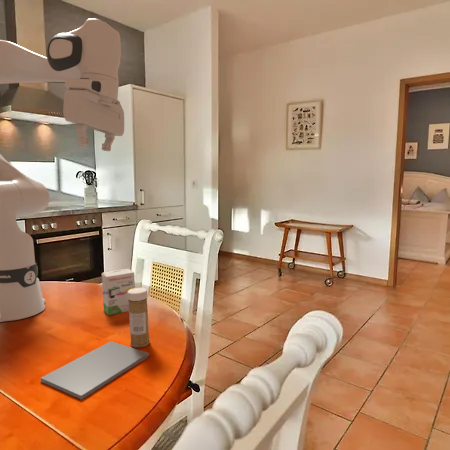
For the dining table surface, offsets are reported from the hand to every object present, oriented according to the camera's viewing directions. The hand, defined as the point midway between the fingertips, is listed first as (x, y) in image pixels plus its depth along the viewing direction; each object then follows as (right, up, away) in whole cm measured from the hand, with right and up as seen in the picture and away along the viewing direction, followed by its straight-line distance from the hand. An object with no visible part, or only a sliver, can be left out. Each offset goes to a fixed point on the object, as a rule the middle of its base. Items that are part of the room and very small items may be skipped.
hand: (95, 148), depth 91 cm
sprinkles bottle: (+12, -48, -3) cm, 49 cm away
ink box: (+1, -45, +19) cm, 49 cm away
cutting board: (+5, -49, -14) cm, 51 cm away
